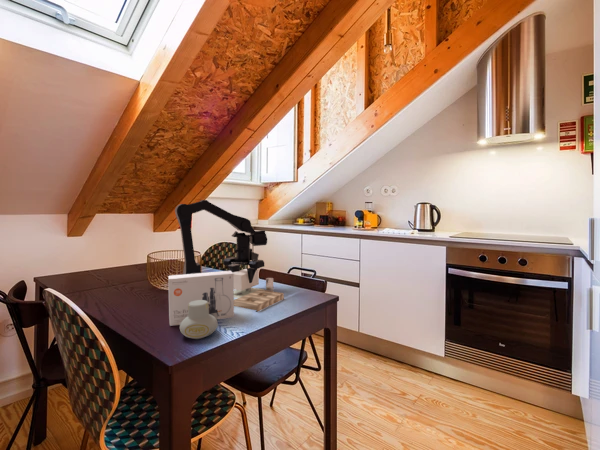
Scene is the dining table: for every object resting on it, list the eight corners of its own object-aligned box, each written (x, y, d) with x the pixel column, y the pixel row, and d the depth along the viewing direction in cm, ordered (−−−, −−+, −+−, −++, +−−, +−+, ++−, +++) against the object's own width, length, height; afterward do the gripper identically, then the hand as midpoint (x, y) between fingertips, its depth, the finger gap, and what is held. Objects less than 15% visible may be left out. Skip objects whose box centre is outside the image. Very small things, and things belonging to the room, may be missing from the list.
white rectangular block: (241, 290, 135) (241, 275, 135) (228, 288, 139) (228, 273, 138) (258, 284, 146) (258, 270, 145) (246, 282, 149) (246, 268, 149)
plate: (242, 300, 133) (241, 287, 132) (222, 296, 138) (221, 284, 138) (264, 290, 147) (264, 279, 146) (245, 287, 152) (245, 277, 152)
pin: (270, 295, 138) (270, 279, 138) (264, 295, 140) (264, 279, 139) (274, 294, 141) (274, 278, 141) (268, 293, 143) (268, 277, 142)
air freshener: (177, 342, 93) (176, 308, 92) (183, 331, 101) (182, 299, 100) (216, 339, 94) (215, 305, 94) (219, 328, 102) (218, 297, 102)
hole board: (257, 311, 118) (257, 305, 118) (232, 307, 124) (231, 300, 123) (283, 299, 133) (283, 293, 133) (260, 295, 139) (260, 289, 139)
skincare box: (169, 327, 104) (167, 278, 103) (169, 321, 109) (167, 275, 108) (235, 317, 112) (233, 272, 111) (231, 312, 117) (230, 269, 116)
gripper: (271, 245, 143) (271, 280, 144) (238, 243, 153) (239, 276, 154) (256, 249, 134) (256, 286, 135) (222, 246, 143) (223, 281, 144)
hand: (244, 282), depth 142 cm, fingers closed on white rectangular block, 7 cm apart
